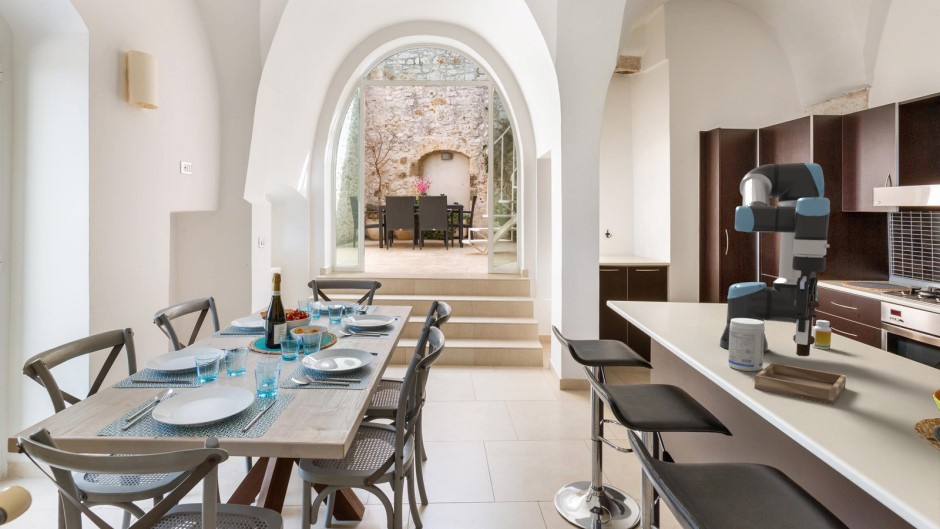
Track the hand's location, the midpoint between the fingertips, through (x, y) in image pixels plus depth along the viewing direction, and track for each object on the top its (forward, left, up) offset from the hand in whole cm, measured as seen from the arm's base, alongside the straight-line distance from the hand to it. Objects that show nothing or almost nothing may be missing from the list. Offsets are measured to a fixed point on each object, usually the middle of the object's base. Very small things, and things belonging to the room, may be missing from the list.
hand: (803, 342), depth 146 cm
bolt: (0, 0, -4) cm, 4 cm away
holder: (0, 0, -13) cm, 13 cm away
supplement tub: (-11, -17, -13) cm, 24 cm away
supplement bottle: (-59, -5, -13) cm, 61 cm away
